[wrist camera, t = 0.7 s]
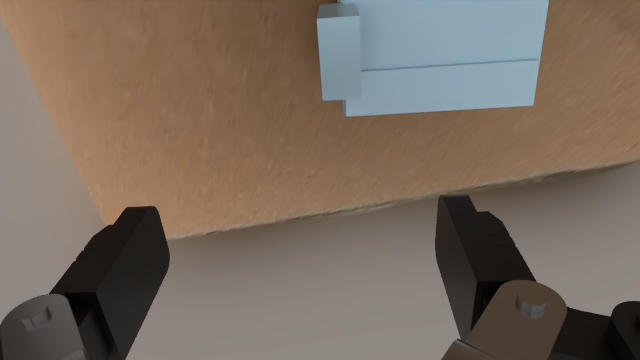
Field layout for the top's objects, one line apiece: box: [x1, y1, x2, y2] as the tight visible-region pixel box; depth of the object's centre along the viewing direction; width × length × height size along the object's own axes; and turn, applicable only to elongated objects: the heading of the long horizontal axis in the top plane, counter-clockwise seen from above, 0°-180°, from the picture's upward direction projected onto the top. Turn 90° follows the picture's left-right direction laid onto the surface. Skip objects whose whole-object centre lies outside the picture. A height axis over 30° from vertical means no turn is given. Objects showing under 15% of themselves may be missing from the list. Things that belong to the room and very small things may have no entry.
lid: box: [317, 0, 549, 117], centre depth 25 cm, size 10×13×6 cm
